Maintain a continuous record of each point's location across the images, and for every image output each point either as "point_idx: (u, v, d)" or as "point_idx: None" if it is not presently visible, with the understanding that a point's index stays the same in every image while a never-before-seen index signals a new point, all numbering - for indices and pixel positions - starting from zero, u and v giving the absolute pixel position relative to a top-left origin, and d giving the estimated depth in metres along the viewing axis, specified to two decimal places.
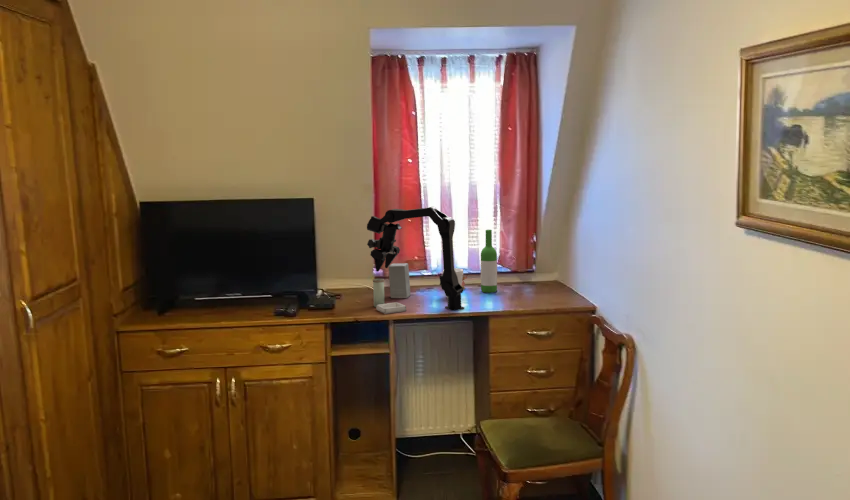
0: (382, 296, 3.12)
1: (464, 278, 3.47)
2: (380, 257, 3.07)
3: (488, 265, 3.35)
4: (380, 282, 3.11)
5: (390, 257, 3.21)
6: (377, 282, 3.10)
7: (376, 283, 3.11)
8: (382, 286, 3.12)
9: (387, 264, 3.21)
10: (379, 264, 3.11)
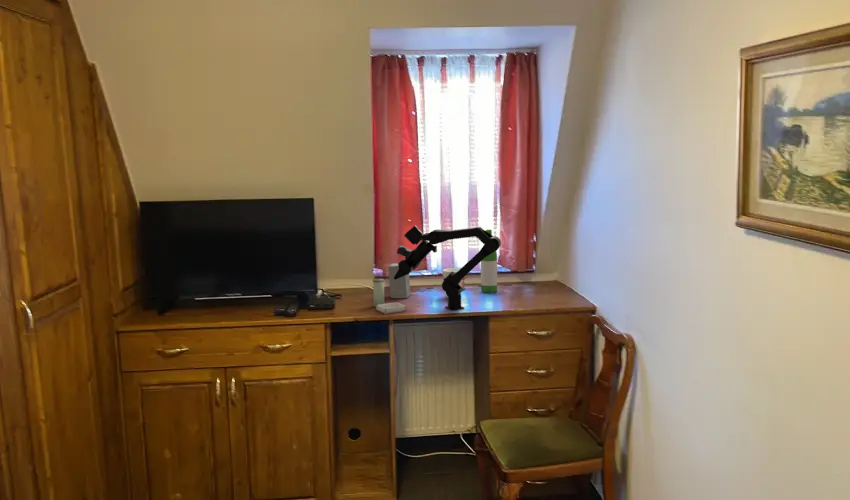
0: (382, 296, 3.12)
1: (464, 278, 3.47)
2: (407, 271, 3.00)
3: (488, 265, 3.35)
4: (380, 282, 3.11)
5: None
6: (377, 282, 3.10)
7: (376, 283, 3.11)
8: (382, 286, 3.12)
9: None
10: (400, 275, 3.04)
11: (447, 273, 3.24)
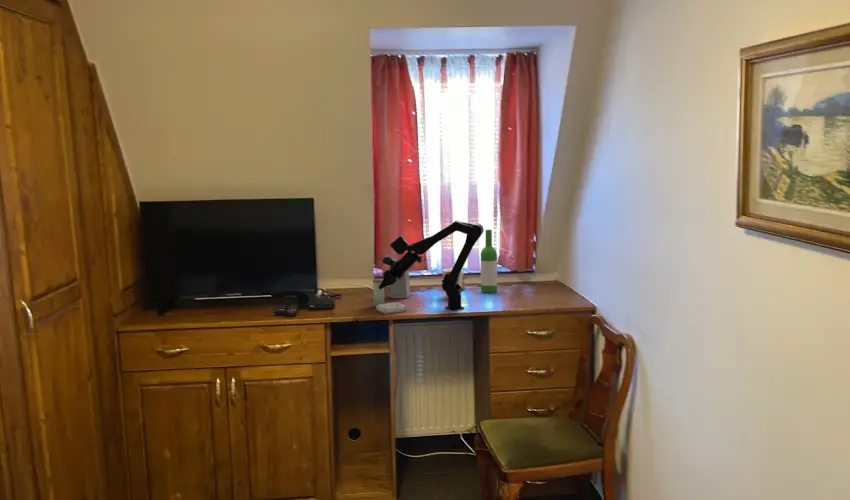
0: (382, 296, 3.12)
1: (464, 278, 3.47)
2: (392, 281, 3.02)
3: (488, 265, 3.35)
4: (380, 282, 3.11)
5: None
6: (377, 282, 3.10)
7: (376, 283, 3.11)
8: None
9: None
10: (385, 284, 3.06)
11: None
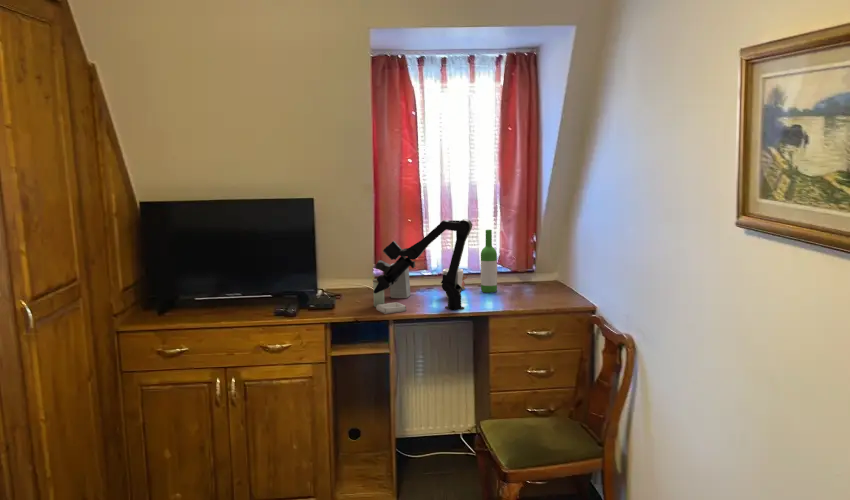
0: (382, 296, 3.12)
1: (464, 278, 3.47)
2: (385, 287, 3.03)
3: (488, 265, 3.35)
4: None
5: None
6: (377, 282, 3.10)
7: (376, 283, 3.11)
8: None
9: None
10: (380, 289, 3.09)
11: None
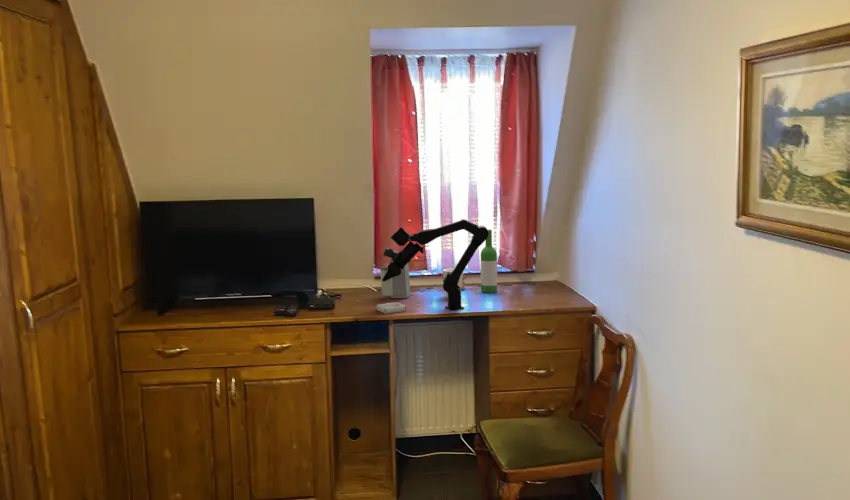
0: (391, 284, 3.05)
1: (464, 278, 3.46)
2: (397, 273, 2.96)
3: (488, 265, 3.35)
4: None
5: None
6: (386, 269, 3.03)
7: (384, 270, 3.03)
8: None
9: None
10: (389, 276, 3.02)
11: None
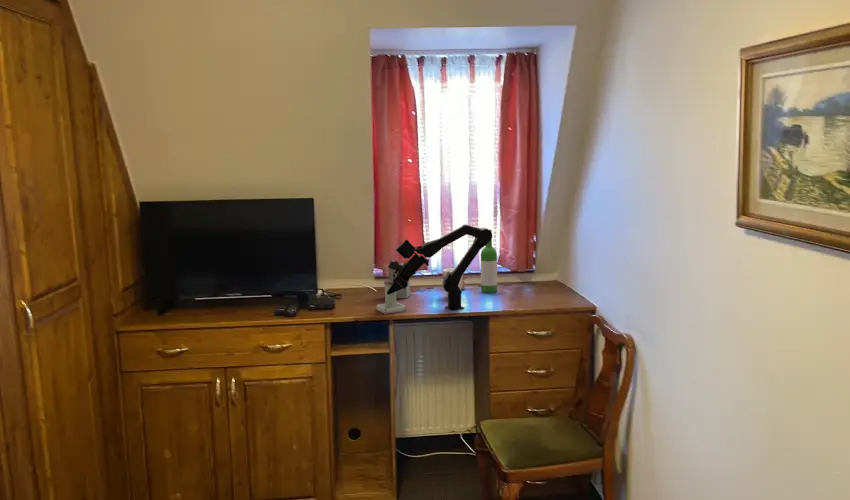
0: (395, 298, 3.04)
1: (464, 278, 3.46)
2: (404, 286, 2.95)
3: (488, 265, 3.35)
4: None
5: None
6: (390, 284, 3.02)
7: (389, 285, 3.02)
8: None
9: None
10: (395, 289, 3.00)
11: None
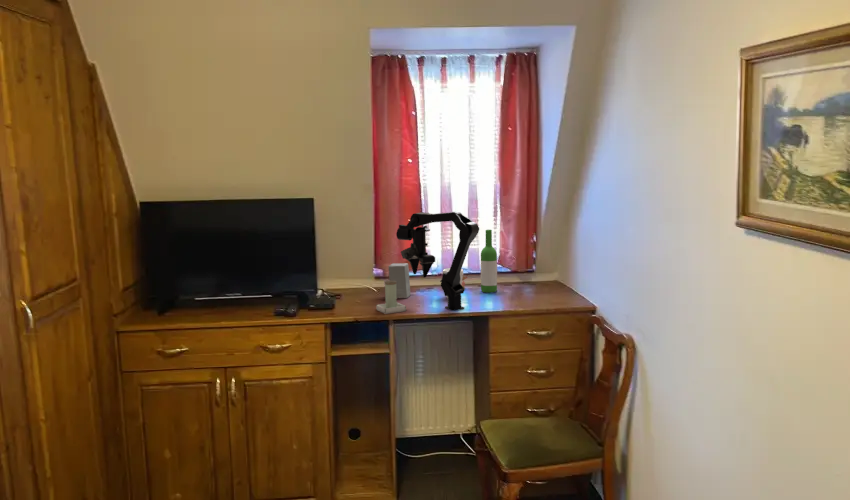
0: (395, 298, 3.04)
1: (464, 278, 3.46)
2: (434, 260, 3.06)
3: (488, 265, 3.35)
4: (394, 284, 3.02)
5: (416, 262, 3.18)
6: (391, 284, 3.02)
7: (390, 285, 3.02)
8: (395, 288, 3.03)
9: (415, 270, 3.18)
10: (427, 269, 3.09)
11: None
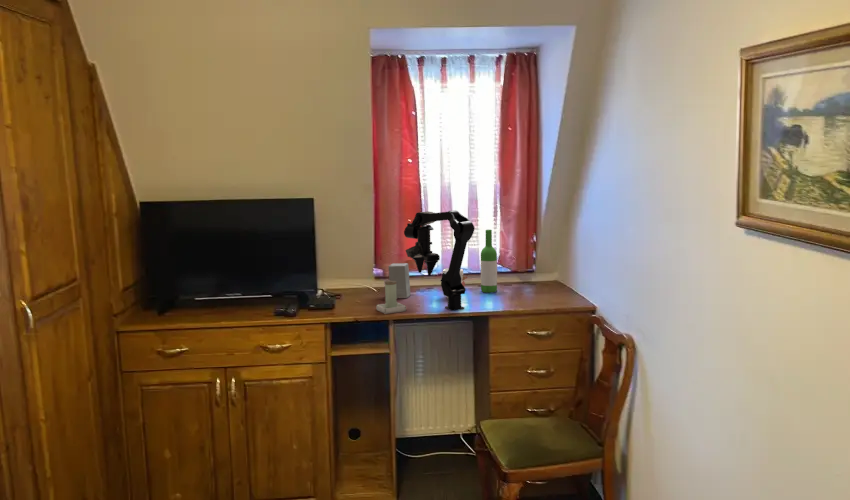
0: (395, 298, 3.04)
1: (464, 278, 3.46)
2: (438, 258, 3.10)
3: (488, 265, 3.35)
4: (394, 284, 3.02)
5: (421, 261, 3.23)
6: (391, 284, 3.02)
7: (390, 285, 3.02)
8: (395, 288, 3.03)
9: (420, 268, 3.22)
10: (432, 267, 3.13)
11: None
